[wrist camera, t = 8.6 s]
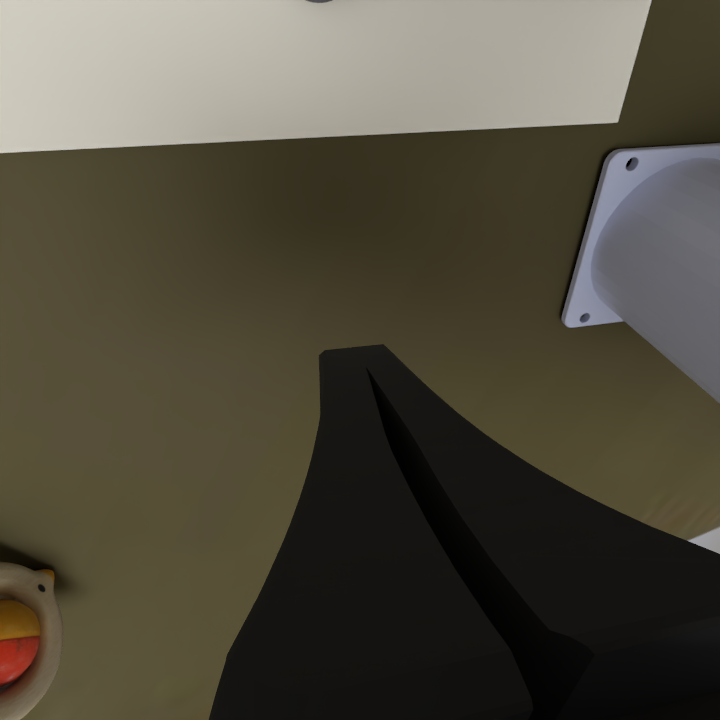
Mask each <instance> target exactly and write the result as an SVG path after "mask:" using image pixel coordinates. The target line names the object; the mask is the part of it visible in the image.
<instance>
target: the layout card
mask: <svg viewBox="0 0 720 720" xmlns="http://www.w3.org/2000/svg"><path fill="white" fill-rule="evenodd" d="M651 1H652V0H0V153H9V152H29V151H50V150H70V149H90V148H111V147H131V146H151V145H172V144H192V143H213V142H233V141H253V140H274V139H294V138H314V137H335V136H355V135H375V134H396V133H416V132H436V131H457V130H477V129H498V128H518V127H538V126H559V125H579V124H599V123H618V120H619V116H620V112H621V109H622V105H623V102H624V98H625V94H626V91H627V87H628V84H629V80H630V76H631V73H632V69H633V66H634V62H635V58H636V55H637V51H638V48H639V44H640V40H641V37H642V33H643V30H644V26H645V23H646V19H647V15H648V12H649V8H650V5H651Z"/></svg>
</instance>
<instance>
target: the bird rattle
mask: <svg viewBox="0 0 720 720" xmlns="http://www.w3.org/2000/svg"><path fill="white" fill-rule="evenodd" d="M62 647H63V622H62V616H61V611H60V608H59V604H58V602H57V599H56V597H55V594H54V572H53V571H52V570H49V569H42V570H37V571H33V570H31V569H29V568H27V567H24V566H22V565H18V564H14V563H8V562H0V720H20V719H21V718H23V717H24V716H25V715H26V714H27V713H28V712H29V711H30V710H31V709H32V708H33V707H34V706H35V705H36V704H37V703H38V702H39V701H40V700H41V698H42V697H43V696H44V694H45V693H46V692H47V690H48V688H49V686H50V685H51V683H52V681H53V679H54V677H55V674H56V672H57V669H58V666H59V663H60V659H61V654H62Z"/></svg>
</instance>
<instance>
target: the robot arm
mask: <svg viewBox="0 0 720 720" xmlns="http://www.w3.org/2000/svg"><path fill="white" fill-rule="evenodd" d="M631 158H632V162H631V164H630V165H629V166H628V167H626V164H627V162H628V160H630V159H631ZM583 314H585V315H584V316H583V317H582V318H580V317H581V316H582V315H583ZM561 320H562V322H563V323H564V324H565V325H566V326H567V327H569V328H573V327H582V326H590V325H598V324H606V323H614V322H622V321H625V322H626V323H627V324H628V325H629V326H630V327H632V328H633V329H634V330H635V331H636V332H637V333H639V334H640V335H641V336H642V337H643V338H644V339H645V340H647V341H648V342H649V343H650V344H651V345H652V346H654V347H655V348H656V349H657V350H658V351H659V352H661V353H662V354H663V355H664V356H665V357H666V358H667V359H669V360H670V361H671V362H672V363H673V364H674V365H676V366H677V367H678V368H679V369H680V370H681V371H683V372H684V373H685V374H686V375H687V376H688V377H689V378H691V379H692V380H693V381H694V382H695V383H696V384H698V385H699V386H700V387H701V388H702V389H703V390H705V391H706V392H707V393H708V394H709V395H710V396H711V397H713V398H714V399H715V400H716V401H717V402H718V403H720V143H712V144H695V145H678V146H661V147H644V148H627V149H617V150H614V151H613V152H611V153H610V154H609V155H608V156H607V157H606V159H605V162H604V164H603V168H602V172H601V175H600V179H599V183H598V186H597V190H596V193H595V197H594V201H593V204H592V208H591V212H590V215H589V219H588V223H587V226H586V230H585V233H584V237H583V241H582V244H581V248H580V252H579V255H578V259H577V262H576V266H575V270H574V273H573V277H572V281H571V284H570V288H569V292H568V295H567V299H566V302H565V306H564V310H563V313H562V319H561ZM319 371H320V412H321V414H320V421H319V426H318V431H317V436H316V441H315V445H314V450H313V454H312V458H311V462H310V466H309V469H308V473H307V476H306V480H305V483H304V486H303V489H302V492H301V495H300V498H299V501H298V504H297V507H296V509H295V512H294V515H293V518H292V521H291V523H290V526H289V528H288V531H287V533H286V536H285V538H284V541H283V543H282V546H281V548H280V550H279V552H278V554H277V557H276V559H275V561H274V563H273V565H272V568H271V570H270V572H269V574H268V577H267V579H266V581H265V583H264V585H263V587H262V590H261V592H260V594H259V596H258V598H257V600H256V602H255V603H254V605H253V607H252V609H251V611H250V613H249V615H248V617H247V618H246V620H245V622H244V624H243V626H242V628H241V630H240V632H239V633H238V635H237V637H236V639H235V641H234V643H233V645H232V647H231V648H230V650H229V652H228V654H227V657H226V662H225V665H224V669H223V672H222V675H221V679H220V682H219V685H218V688H217V692H216V695H215V699H214V702H213V706H212V710H211V713H210V717H209V720H720V554H718V553H716V552H713V551H711V550H708V549H706V548H703V547H701V546H698V545H696V544H693V543H691V542H688V541H686V540H683V539H681V538H678V537H676V536H673V535H671V534H668V533H666V532H663V531H661V530H658V529H656V528H653V527H651V526H649V525H647V524H644V523H642V522H640V521H638V520H636V519H633V518H631V517H629V516H627V515H625V514H623V513H620V512H618V511H616V510H614V509H612V508H610V507H608V506H605V505H603V504H601V503H600V502H598V501H596V500H594V499H592V498H590V497H588V496H586V495H584V494H582V493H580V492H578V491H576V490H574V489H572V488H571V487H569V486H567V485H565V484H563V483H562V482H560V481H558V480H556V479H554V478H553V477H551V476H549V475H547V474H545V473H544V472H542V471H540V470H539V469H537V468H535V467H534V466H532V465H530V464H529V463H527V462H526V461H524V460H523V459H521V458H520V457H518V456H517V455H515V454H513V453H512V452H510V451H509V450H507V449H506V448H504V447H503V446H501V445H500V444H498V443H497V442H495V441H494V440H493V439H491V438H490V437H488V436H487V435H486V434H484V433H483V432H482V431H480V430H479V429H478V428H476V427H475V426H474V425H473V424H471V423H470V422H469V421H467V420H466V419H465V418H463V417H462V416H461V415H460V414H459V413H457V412H456V411H455V410H454V409H452V408H451V407H450V406H449V405H448V404H447V403H446V402H444V401H443V400H442V399H441V398H440V397H439V396H438V395H436V394H435V393H434V392H433V391H432V390H431V389H430V388H429V387H428V386H426V385H425V384H424V383H423V382H422V381H421V380H420V379H419V378H418V377H417V376H416V375H415V374H414V373H413V372H412V371H411V370H409V369H408V368H407V367H406V366H405V365H404V364H403V363H402V362H401V361H400V360H399V359H398V358H397V357H396V356H395V355H394V354H393V353H392V352H391V351H390V350H389V349H388V348H387V347H386V346H384V345H383V344H381V345H372V346H362V347H352V348H343V349H333V350H324V351H323V352H322V353H321V354H320V355H319Z"/></svg>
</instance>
